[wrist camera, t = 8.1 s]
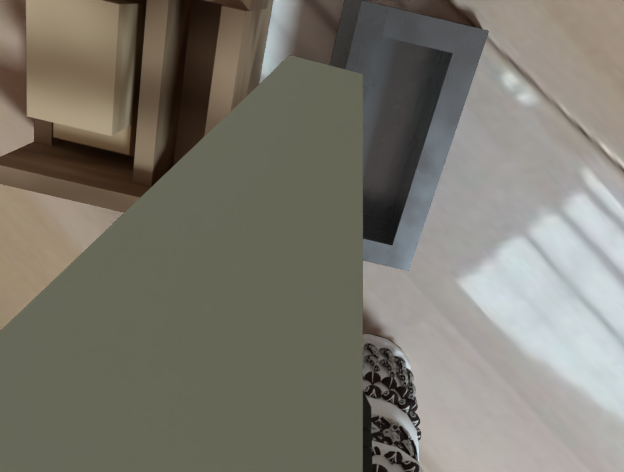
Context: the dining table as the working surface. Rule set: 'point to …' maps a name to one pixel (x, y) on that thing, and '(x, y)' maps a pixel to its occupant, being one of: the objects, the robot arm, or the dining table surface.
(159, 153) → the rack
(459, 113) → the stand
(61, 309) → the panel
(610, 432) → the dining table surface
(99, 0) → the offcut upper
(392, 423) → the decorative candle
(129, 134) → the offcut lower
